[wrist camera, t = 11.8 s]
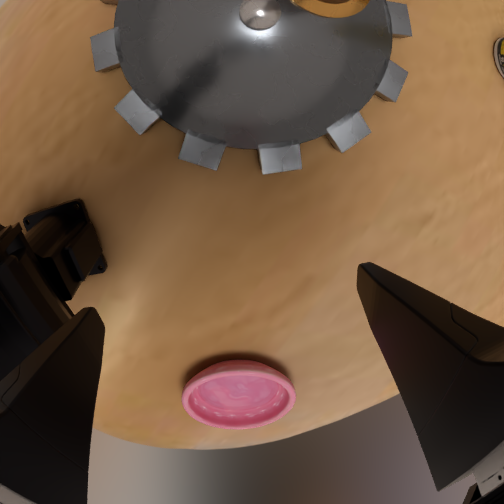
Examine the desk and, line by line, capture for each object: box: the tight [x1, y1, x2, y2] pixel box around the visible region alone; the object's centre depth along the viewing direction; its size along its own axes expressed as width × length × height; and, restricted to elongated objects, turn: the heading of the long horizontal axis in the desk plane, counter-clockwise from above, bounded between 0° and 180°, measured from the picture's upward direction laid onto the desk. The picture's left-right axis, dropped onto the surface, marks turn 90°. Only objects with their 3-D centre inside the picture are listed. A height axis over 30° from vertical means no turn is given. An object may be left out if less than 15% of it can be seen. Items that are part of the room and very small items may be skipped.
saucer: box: [182, 360, 296, 429], centre depth 31 cm, size 12×12×3 cm
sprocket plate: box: [90, 0, 412, 174], centre depth 14 cm, size 21×21×2 cm
